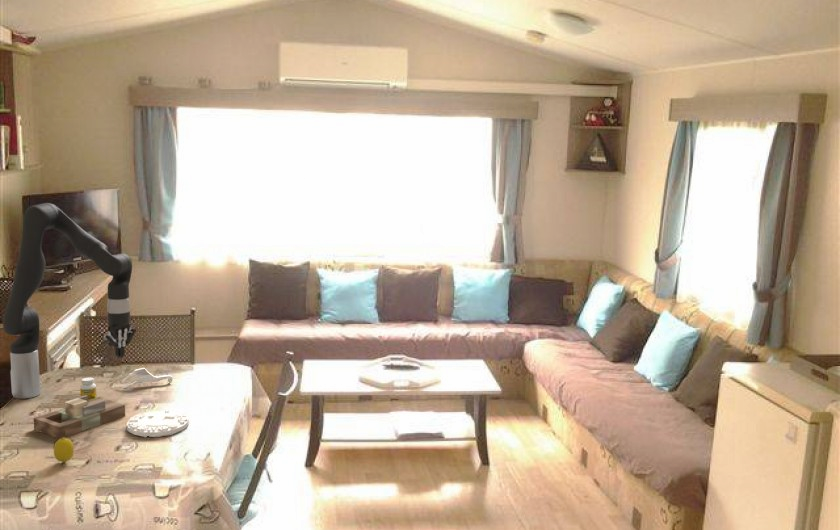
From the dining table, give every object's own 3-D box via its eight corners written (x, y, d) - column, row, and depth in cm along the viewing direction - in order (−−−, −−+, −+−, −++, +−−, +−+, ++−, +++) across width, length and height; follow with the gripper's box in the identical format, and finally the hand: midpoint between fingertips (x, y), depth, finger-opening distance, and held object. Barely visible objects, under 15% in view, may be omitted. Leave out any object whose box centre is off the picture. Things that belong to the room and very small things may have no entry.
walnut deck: (34, 429, 250) (32, 409, 248) (99, 407, 271) (98, 389, 270) (60, 438, 243) (58, 418, 241) (125, 415, 264) (124, 396, 263)
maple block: (65, 413, 254) (64, 402, 253) (78, 409, 258) (78, 398, 257) (74, 416, 251) (74, 405, 251) (87, 412, 256) (87, 401, 255)
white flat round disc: (200, 422, 262) (200, 414, 261) (163, 442, 243) (163, 434, 243) (152, 413, 268) (152, 405, 267) (113, 432, 249) (113, 424, 249)
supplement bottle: (95, 400, 278) (94, 375, 276) (98, 405, 273) (97, 380, 272) (79, 403, 275) (78, 378, 273) (82, 407, 270) (81, 382, 269)
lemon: (58, 458, 228) (57, 434, 227) (77, 458, 229) (76, 433, 227) (51, 466, 223) (49, 441, 221) (70, 466, 223) (69, 441, 222)
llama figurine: (130, 403, 293) (174, 382, 299) (118, 379, 290) (162, 358, 295) (130, 401, 295) (174, 380, 300) (117, 377, 291) (162, 356, 297)
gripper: (127, 305, 274) (128, 350, 277) (95, 311, 263) (97, 359, 266) (141, 308, 270) (142, 354, 273) (109, 315, 259) (110, 363, 262)
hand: (120, 356), depth 269 cm, fingers closed
